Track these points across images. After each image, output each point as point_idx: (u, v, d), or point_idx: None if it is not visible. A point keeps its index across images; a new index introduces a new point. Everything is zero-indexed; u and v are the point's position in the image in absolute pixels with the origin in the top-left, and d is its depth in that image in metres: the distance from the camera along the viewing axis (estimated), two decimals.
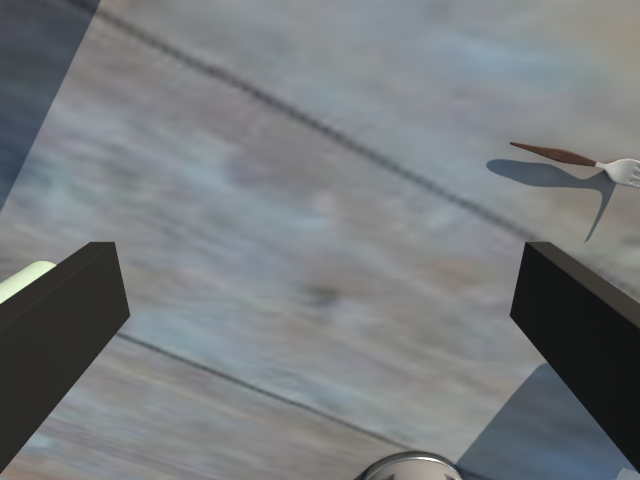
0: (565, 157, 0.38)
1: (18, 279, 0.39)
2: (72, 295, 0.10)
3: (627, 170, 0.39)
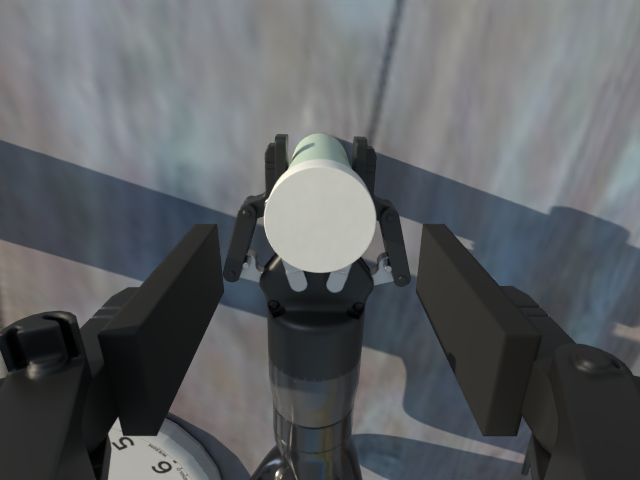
0: None
1: None
2: (199, 267, 0.12)
3: None
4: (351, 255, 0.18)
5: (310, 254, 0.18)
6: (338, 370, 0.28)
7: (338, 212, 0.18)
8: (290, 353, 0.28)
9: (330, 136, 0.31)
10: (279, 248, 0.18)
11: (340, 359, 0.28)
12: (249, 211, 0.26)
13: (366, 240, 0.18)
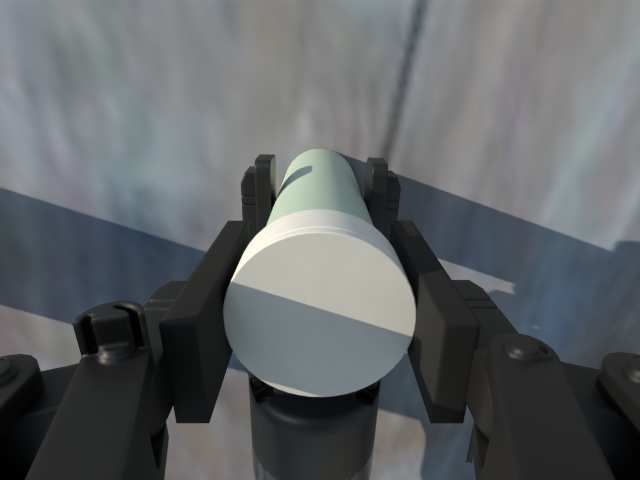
0: None
1: None
2: (236, 262, 0.12)
3: None
4: (372, 372, 0.11)
5: (303, 370, 0.11)
6: (345, 473, 0.21)
7: (351, 306, 0.10)
8: (279, 453, 0.20)
9: (333, 153, 0.23)
10: (251, 361, 0.11)
11: (347, 460, 0.20)
12: None
13: (399, 348, 0.11)
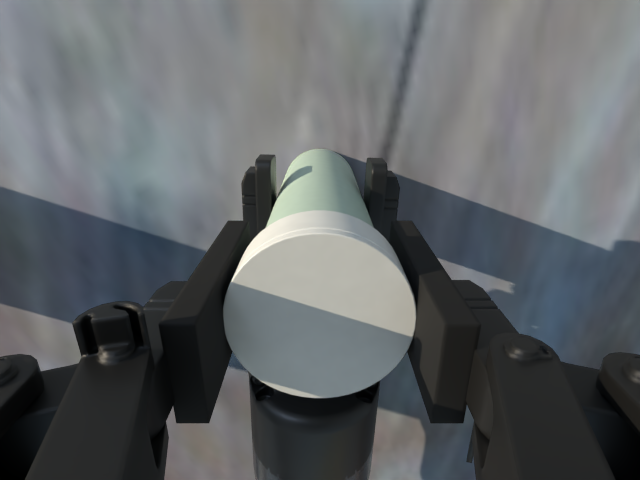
0: None
1: None
2: (236, 262, 0.12)
3: None
4: (343, 250, 0.10)
5: (380, 308, 0.10)
6: (344, 471, 0.21)
7: (287, 309, 0.10)
8: (279, 451, 0.20)
9: (333, 153, 0.24)
10: (396, 351, 0.11)
11: (347, 458, 0.20)
12: None
13: (301, 244, 0.09)
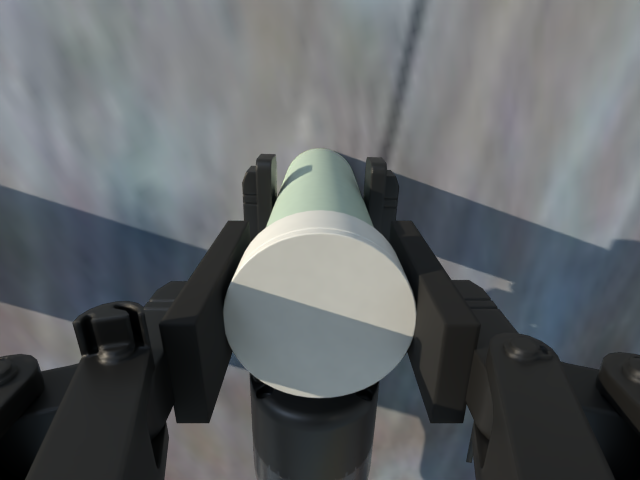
0: None
1: None
2: (236, 262, 0.12)
3: None
4: (242, 344, 0.11)
5: (270, 287, 0.10)
6: (344, 468, 0.21)
7: (323, 352, 0.11)
8: (280, 448, 0.20)
9: (333, 152, 0.24)
10: (304, 243, 0.10)
11: (347, 455, 0.21)
12: None
13: (260, 372, 0.11)
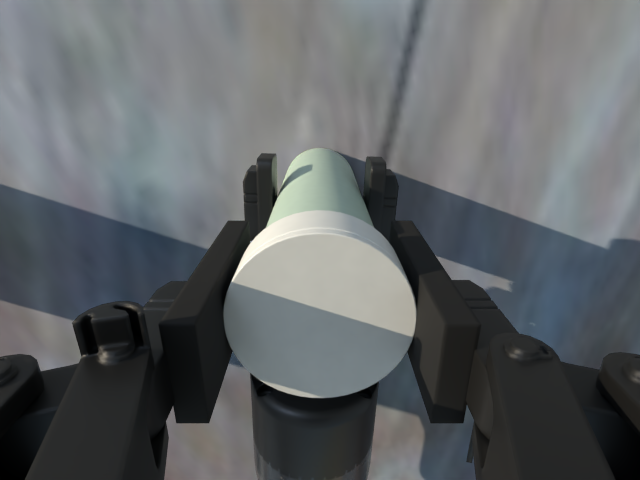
0: None
1: None
2: (236, 262, 0.12)
3: None
4: (380, 366, 0.11)
5: (311, 372, 0.11)
6: (344, 466, 0.21)
7: (348, 304, 0.10)
8: (280, 445, 0.21)
9: (333, 152, 0.24)
10: (259, 369, 0.11)
11: (347, 452, 0.21)
12: None
13: (403, 340, 0.11)
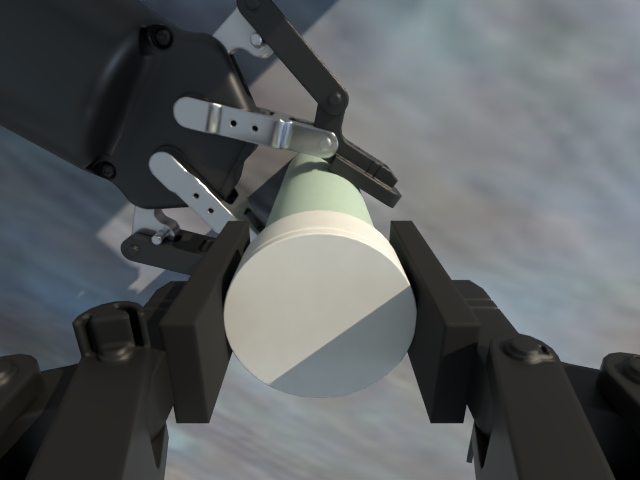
0: None
1: None
2: (236, 262, 0.12)
3: None
4: (380, 366, 0.11)
5: (311, 373, 0.11)
6: None
7: (348, 304, 0.10)
8: (51, 24, 0.13)
9: None
10: (258, 369, 0.11)
11: (10, 110, 0.14)
12: (335, 106, 0.16)
13: (403, 340, 0.11)
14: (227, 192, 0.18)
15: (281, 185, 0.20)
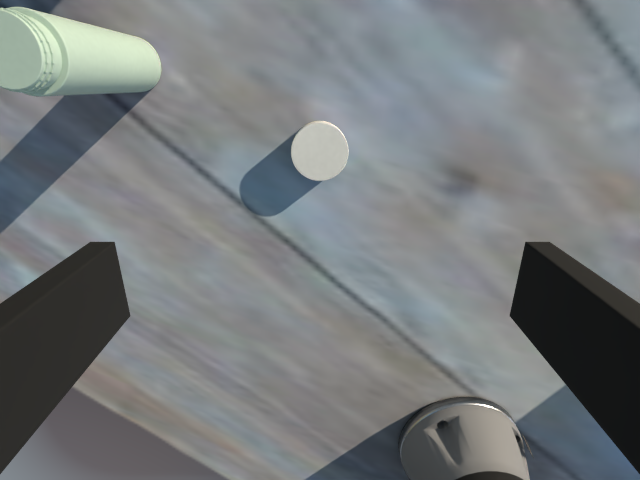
0: None
1: (118, 33, 0.29)
2: (73, 295, 0.10)
3: None
4: (338, 168, 0.35)
5: (317, 170, 0.35)
6: None
7: (327, 145, 0.35)
8: None
9: (150, 87, 0.34)
10: (300, 169, 0.35)
11: None
12: None
13: (344, 158, 0.35)
14: None
15: None
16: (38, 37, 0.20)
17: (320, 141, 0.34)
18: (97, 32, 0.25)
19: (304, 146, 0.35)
